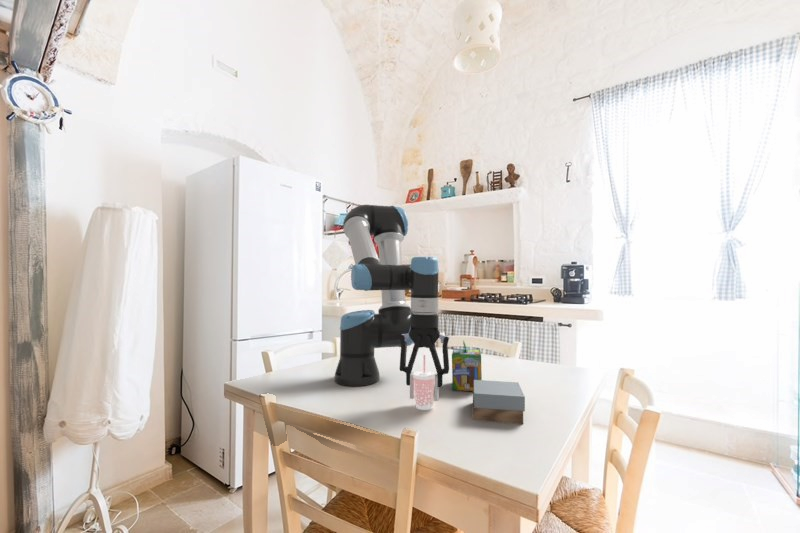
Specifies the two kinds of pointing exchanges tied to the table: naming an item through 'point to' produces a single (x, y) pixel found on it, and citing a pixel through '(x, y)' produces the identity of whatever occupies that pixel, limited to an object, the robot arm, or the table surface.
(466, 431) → the table surface
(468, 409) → the table surface
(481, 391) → the slate top slab
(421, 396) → the beverage cup
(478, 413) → the walnut base slab
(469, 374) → the chalk box
